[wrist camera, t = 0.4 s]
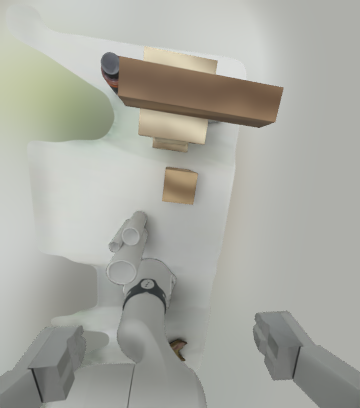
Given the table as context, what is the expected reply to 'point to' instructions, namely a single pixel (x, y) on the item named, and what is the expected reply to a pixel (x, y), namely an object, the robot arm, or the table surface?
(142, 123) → the birch stand
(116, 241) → the vase
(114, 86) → the supplement bottle
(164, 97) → the walnut rail
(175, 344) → the ceramic sculpture
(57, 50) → the table surface
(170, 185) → the oak post
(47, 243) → the table surface
